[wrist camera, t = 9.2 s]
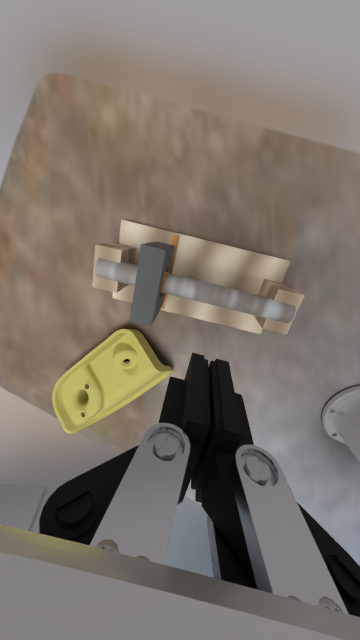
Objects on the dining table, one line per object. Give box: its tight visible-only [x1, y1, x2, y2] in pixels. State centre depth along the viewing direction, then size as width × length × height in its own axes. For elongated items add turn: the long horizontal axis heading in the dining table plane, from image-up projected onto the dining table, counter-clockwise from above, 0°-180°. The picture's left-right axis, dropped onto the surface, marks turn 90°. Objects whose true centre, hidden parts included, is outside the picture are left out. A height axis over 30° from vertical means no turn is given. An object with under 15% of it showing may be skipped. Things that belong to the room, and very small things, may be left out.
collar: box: [130, 242, 175, 326], centre depth 26 cm, size 2×8×8 cm, turn 167°
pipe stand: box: [92, 220, 305, 335], centre depth 28 cm, size 24×11×8 cm, turn 77°
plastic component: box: [52, 329, 173, 434], centre depth 38 cm, size 20×7×10 cm
